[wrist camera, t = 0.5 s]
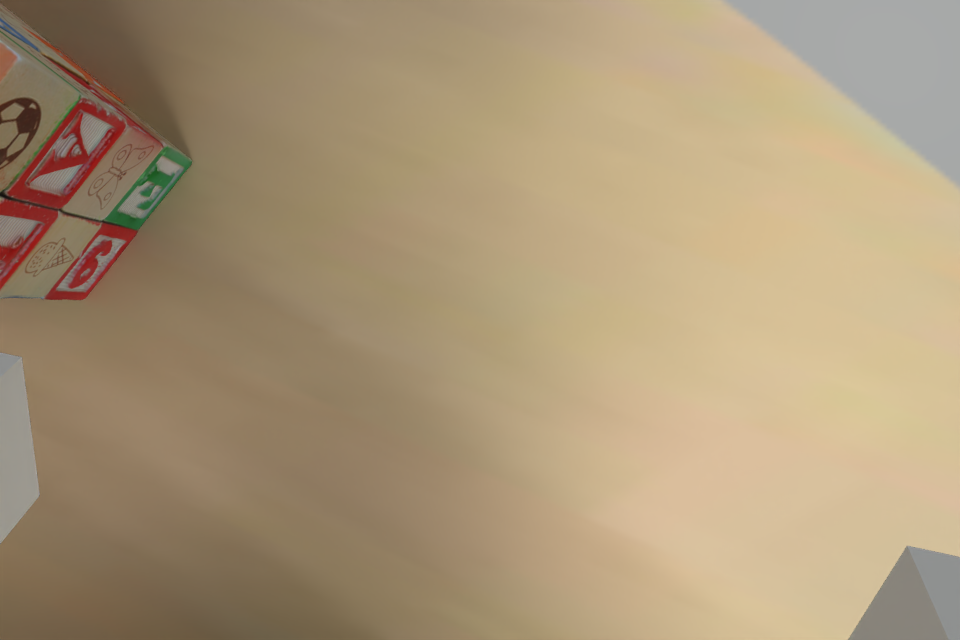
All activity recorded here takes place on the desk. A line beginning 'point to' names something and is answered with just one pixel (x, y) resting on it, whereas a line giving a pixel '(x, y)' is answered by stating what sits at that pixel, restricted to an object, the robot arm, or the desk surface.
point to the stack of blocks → (69, 170)
